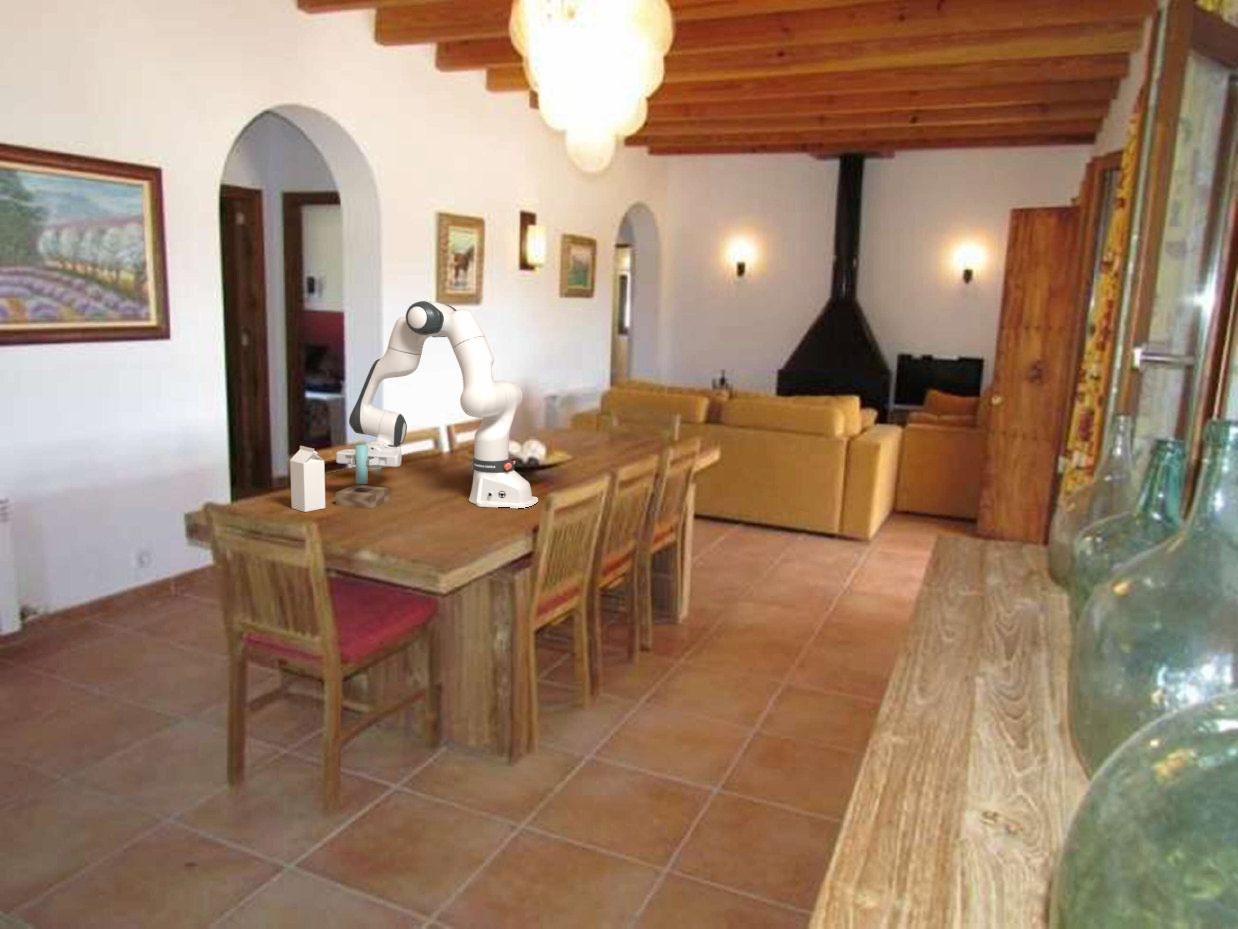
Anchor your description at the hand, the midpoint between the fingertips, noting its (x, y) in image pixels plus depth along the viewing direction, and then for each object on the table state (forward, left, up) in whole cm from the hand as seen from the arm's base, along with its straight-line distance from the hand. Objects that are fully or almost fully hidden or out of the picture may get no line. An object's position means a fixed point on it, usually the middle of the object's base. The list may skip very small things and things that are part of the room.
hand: (360, 462), depth 273 cm
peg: (0, -1, -7) cm, 7 cm away
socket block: (0, -1, -13) cm, 13 cm away
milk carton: (+11, +12, -13) cm, 21 cm away
